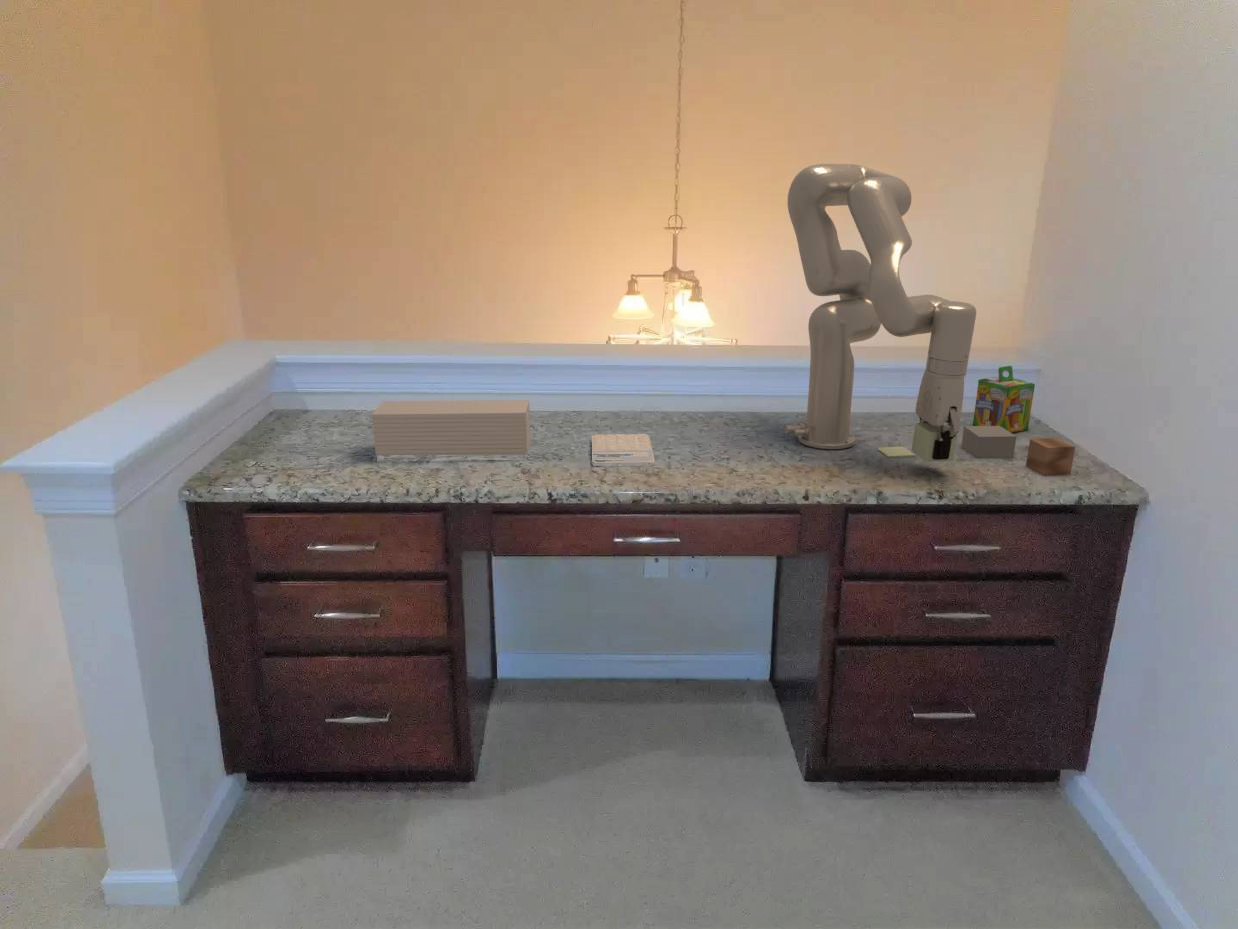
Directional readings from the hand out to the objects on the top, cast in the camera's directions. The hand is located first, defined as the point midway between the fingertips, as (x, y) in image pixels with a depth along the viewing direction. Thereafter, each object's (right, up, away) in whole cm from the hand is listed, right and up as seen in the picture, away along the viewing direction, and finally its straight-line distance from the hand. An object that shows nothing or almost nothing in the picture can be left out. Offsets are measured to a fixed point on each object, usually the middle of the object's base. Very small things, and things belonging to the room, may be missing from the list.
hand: (932, 452), depth 174 cm
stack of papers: (-99, 0, +14) cm, 100 cm away
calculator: (-63, 0, +15) cm, 65 cm away
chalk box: (+28, +6, +32) cm, 42 cm away
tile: (-3, 0, +13) cm, 14 cm away
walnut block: (+25, -4, +3) cm, 25 cm away
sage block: (0, -1, 0) cm, 1 cm away
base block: (+17, 0, +14) cm, 22 cm away
